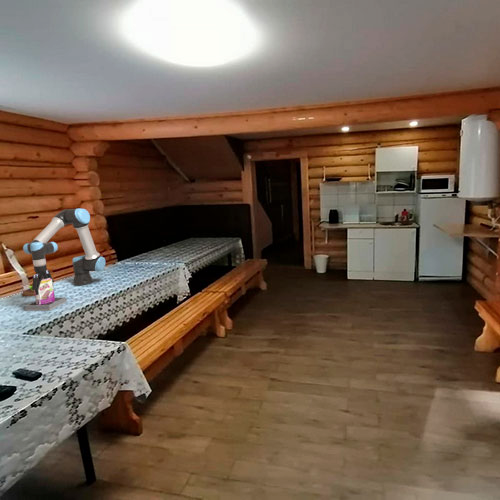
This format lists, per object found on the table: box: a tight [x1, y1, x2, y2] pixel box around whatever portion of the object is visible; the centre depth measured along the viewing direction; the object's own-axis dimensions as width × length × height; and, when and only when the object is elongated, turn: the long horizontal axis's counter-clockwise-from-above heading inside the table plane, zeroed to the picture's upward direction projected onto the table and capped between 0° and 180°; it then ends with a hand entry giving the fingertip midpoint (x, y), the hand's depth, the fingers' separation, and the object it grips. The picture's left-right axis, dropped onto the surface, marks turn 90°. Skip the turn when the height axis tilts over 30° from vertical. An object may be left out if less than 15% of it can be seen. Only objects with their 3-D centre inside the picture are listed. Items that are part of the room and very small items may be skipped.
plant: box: [21, 285, 35, 298], centre depth 300 cm, size 20×20×11 cm
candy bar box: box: [34, 278, 56, 305], centre depth 261 cm, size 11×5×16 cm, turn 134°
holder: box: [24, 296, 68, 312], centre depth 262 cm, size 18×18×4 cm
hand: (45, 296), depth 261 cm, fingers open, 11 cm apart
